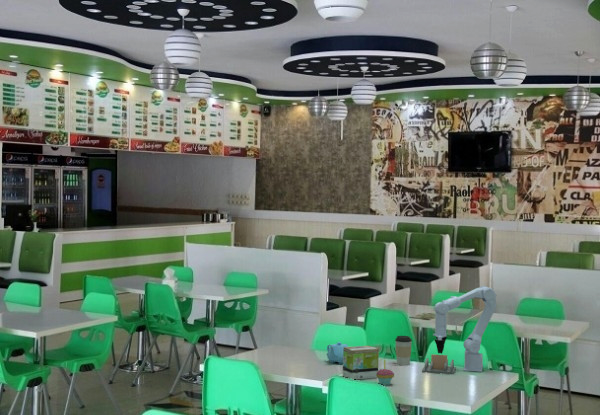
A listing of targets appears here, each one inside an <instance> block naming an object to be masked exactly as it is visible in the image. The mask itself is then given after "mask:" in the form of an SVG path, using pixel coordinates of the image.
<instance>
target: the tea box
mask: <svg viewBox="0 0 600 415" xmlns="http://www.w3.org/2000/svg"><path fill="white" fill-rule="evenodd" d="M379 355H380V352H379V348H377V347H374V346H371V345H358V346H348V347H344V348H343V362H342V363H343V364H342V377H343V376H344V378H346V377H348V378H352V379H356V380H365V379H366V380H367V379H378V377H377V376H376V374H377V372H378V371H379V357H380V356H379ZM348 378H347V379H348Z"/></svg>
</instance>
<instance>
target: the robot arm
mask: <svg viewBox="0 0 600 415" xmlns="http://www.w3.org/2000/svg"><path fill="white" fill-rule="evenodd" d="M476 298H478V299H481V300H482V302H483V304H484V308H483V310H482V312H481V314H480V316H479V319H478V320H477V322H476V324H475V326H474V328H473V330H472V332H471V333H470V334H469V335H468V337H467V338H466V339H465V340H464V342H463V347H464V349H465V350H464V366H463V368H462V369H463V371H465V372H466V371H467V372H479V373H480V372H481V373H482V372H483V369H484V364H483V360H484V359H483V358H484V356H483V355H484V353H480V349H481V344H482V337H483V335H484V333H485V331H486V328H487V327H488V325H489V324H490V323H489V322H490V321H491V318H492V317H493V315H494V312H495V311H496V309H497V294H496V291H495V290H494V289H493V288H491V287H488V286H486V285H482V286H480V287H476V288H475V289H472V290H470V291H468V292H466V293H464V294H461V295H460V296H455V295H454V296H453V295H451V296H450V297H449V298H447V299H444V300H443V299H442V301H440V302H436V304H435V305H434V306H433V310H434V312H435V316H434V318H435V321H434V325H435V327H434V328H435V331H434V333H432V336H433V337H434V336H435V338H436V339H435V338H434V343H435V345H436V350H437V353H438V354H440V355H443V351H444V349H445V344H446V341H447V339H448V336H447V323H448V322H447V320H448V319H447V318H448V317H447V313H448V312H450V311H452V310H454V309H456V308H459V307H460V306H461V305H462V303H465V302H467V301H470V300H472V299H476Z"/></svg>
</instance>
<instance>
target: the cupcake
mask: <svg viewBox="0 0 600 415" xmlns="http://www.w3.org/2000/svg"><path fill="white" fill-rule="evenodd" d="M386 364H387V363H386V358H384V360H383V368H382V369H381V368H380V369H378V372H377V374H376V376H377V377H378V378H377V379H378V382H379V385H381V384H383V385H382V386H390V385H391V382H392V379H393V378H394V377H395V373H394V372H393V370H391V369H387V366H386Z"/></svg>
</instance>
